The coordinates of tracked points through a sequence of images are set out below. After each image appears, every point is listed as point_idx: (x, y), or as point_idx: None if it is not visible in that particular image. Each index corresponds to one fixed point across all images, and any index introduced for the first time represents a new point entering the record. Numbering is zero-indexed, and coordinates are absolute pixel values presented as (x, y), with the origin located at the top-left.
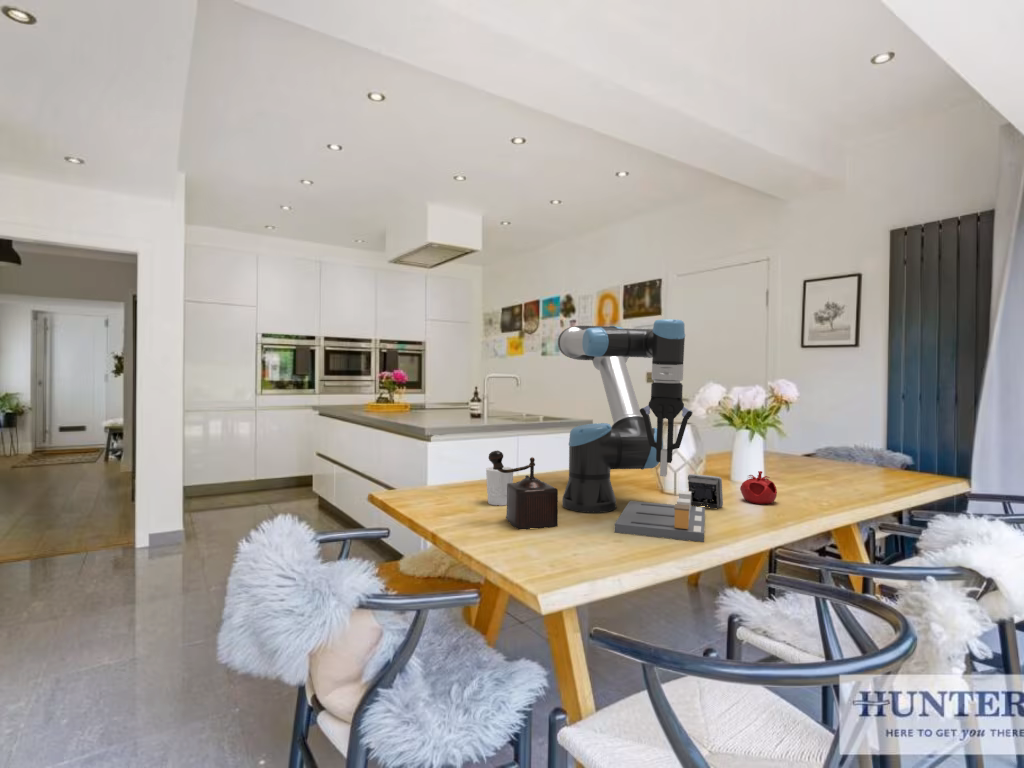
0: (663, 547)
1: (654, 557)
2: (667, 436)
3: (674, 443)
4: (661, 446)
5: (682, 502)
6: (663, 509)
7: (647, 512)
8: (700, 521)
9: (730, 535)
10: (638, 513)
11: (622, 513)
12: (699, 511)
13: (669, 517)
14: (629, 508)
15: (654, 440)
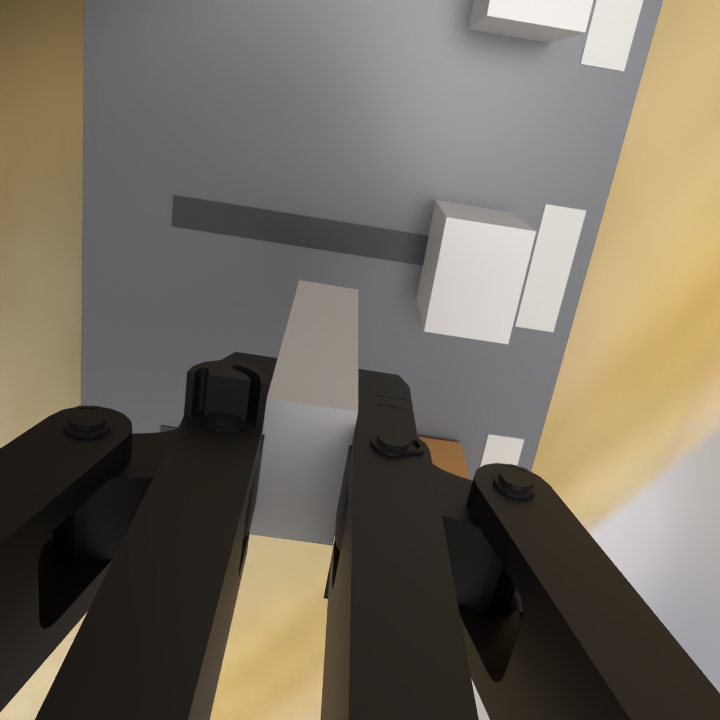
0: (318, 613)
1: (280, 714)
2: (321, 716)
3: (454, 535)
4: (248, 520)
5: (460, 336)
6: (355, 63)
7: (242, 189)
8: (546, 333)
9: (667, 387)
10: (186, 230)
11: (88, 255)
12: (607, 69)
13: (375, 284)
14: (116, 97)
15: (105, 463)
